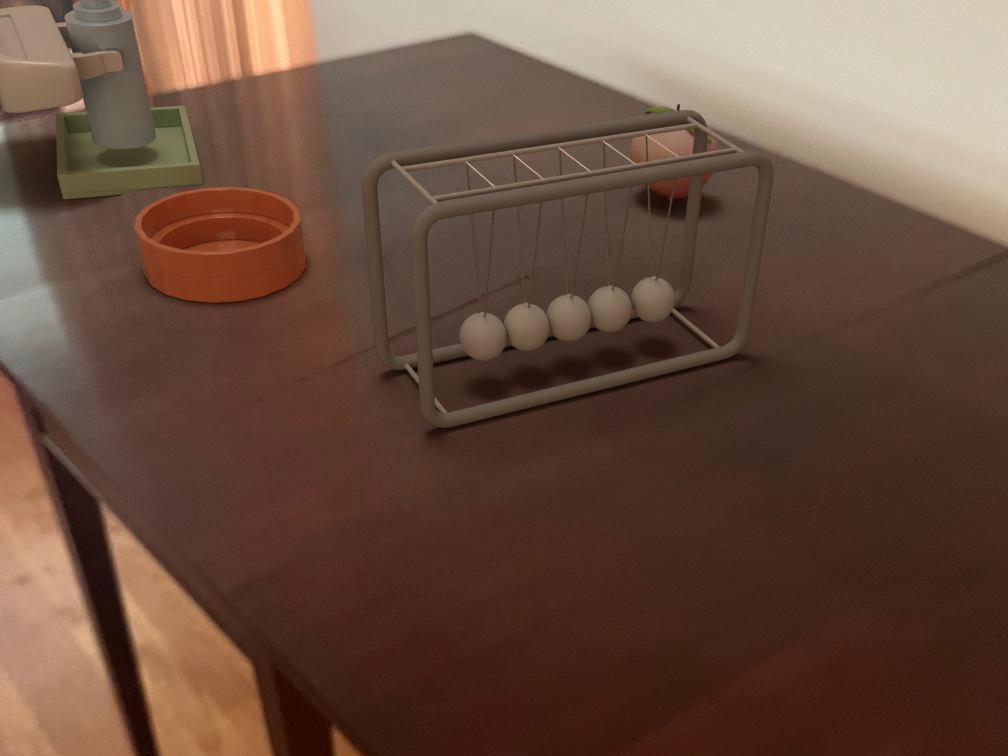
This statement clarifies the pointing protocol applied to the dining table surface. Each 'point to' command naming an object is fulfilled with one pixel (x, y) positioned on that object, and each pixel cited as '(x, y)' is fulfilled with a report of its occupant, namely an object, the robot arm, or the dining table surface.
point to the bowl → (220, 244)
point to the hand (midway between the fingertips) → (114, 47)
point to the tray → (125, 157)
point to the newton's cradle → (567, 312)
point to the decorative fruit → (669, 154)
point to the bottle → (112, 75)
